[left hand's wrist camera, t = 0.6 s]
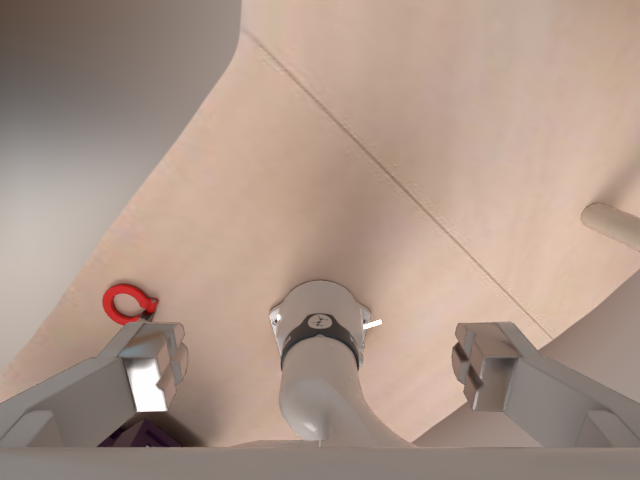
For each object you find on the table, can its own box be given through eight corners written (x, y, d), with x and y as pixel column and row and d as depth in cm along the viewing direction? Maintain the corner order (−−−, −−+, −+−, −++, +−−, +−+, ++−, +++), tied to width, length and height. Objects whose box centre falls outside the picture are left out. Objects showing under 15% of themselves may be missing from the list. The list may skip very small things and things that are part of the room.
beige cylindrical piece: (609, 220, 60) (702, 259, 45) (583, 231, 61) (667, 273, 46) (604, 198, 58) (698, 231, 44) (578, 209, 59) (662, 246, 45)
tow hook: (101, 312, 67) (148, 331, 68) (49, 357, 55) (108, 379, 56) (112, 275, 64) (161, 296, 65) (59, 314, 52) (121, 339, 53)
